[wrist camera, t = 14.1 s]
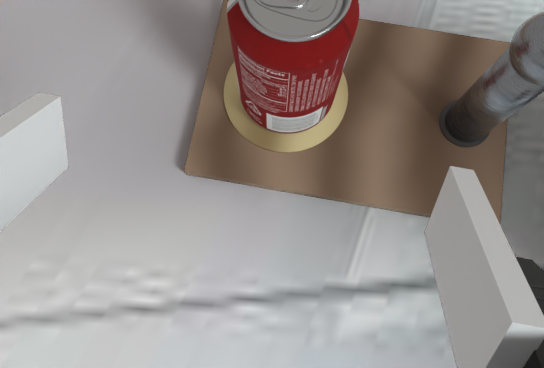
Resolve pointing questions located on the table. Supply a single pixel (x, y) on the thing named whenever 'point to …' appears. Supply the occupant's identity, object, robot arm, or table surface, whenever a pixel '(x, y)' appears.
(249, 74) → the soda can
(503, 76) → the steel post
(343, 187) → the hole plate
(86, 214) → the table surface
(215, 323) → the table surface
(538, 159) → the table surface
